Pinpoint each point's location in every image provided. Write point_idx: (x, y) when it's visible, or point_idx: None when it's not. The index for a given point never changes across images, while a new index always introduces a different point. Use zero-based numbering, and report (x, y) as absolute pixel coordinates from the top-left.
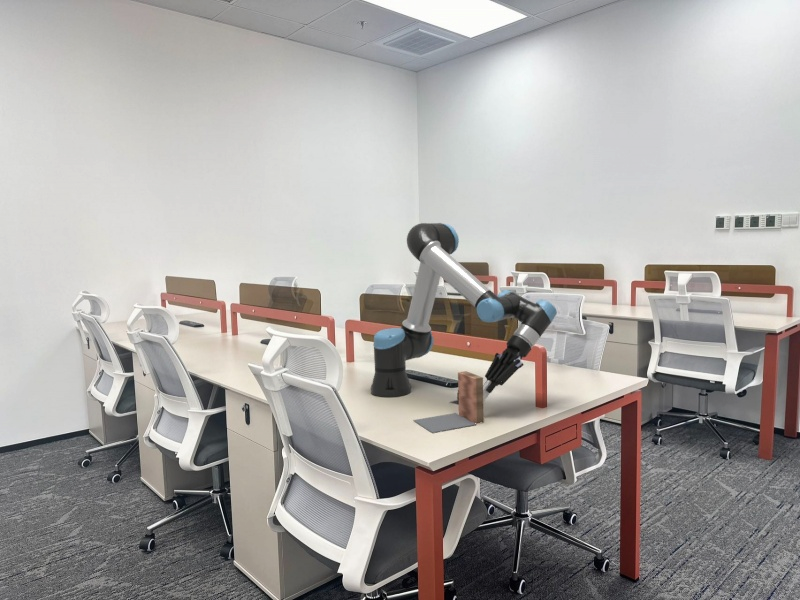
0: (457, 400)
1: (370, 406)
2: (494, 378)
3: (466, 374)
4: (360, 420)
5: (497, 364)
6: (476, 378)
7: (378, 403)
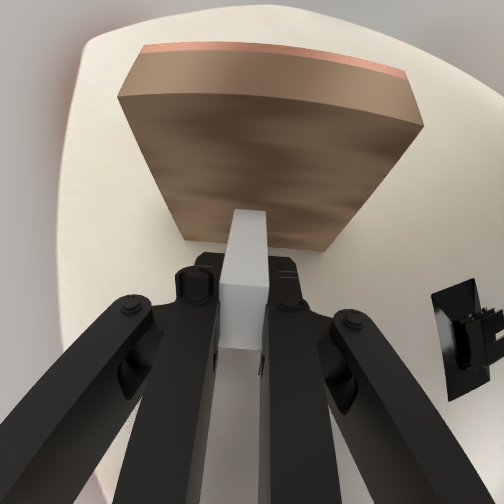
0: (472, 311)
1: (471, 94)
2: (183, 312)
3: (306, 60)
4: (379, 33)
5: (334, 498)
6: (138, 56)
7: (490, 118)
